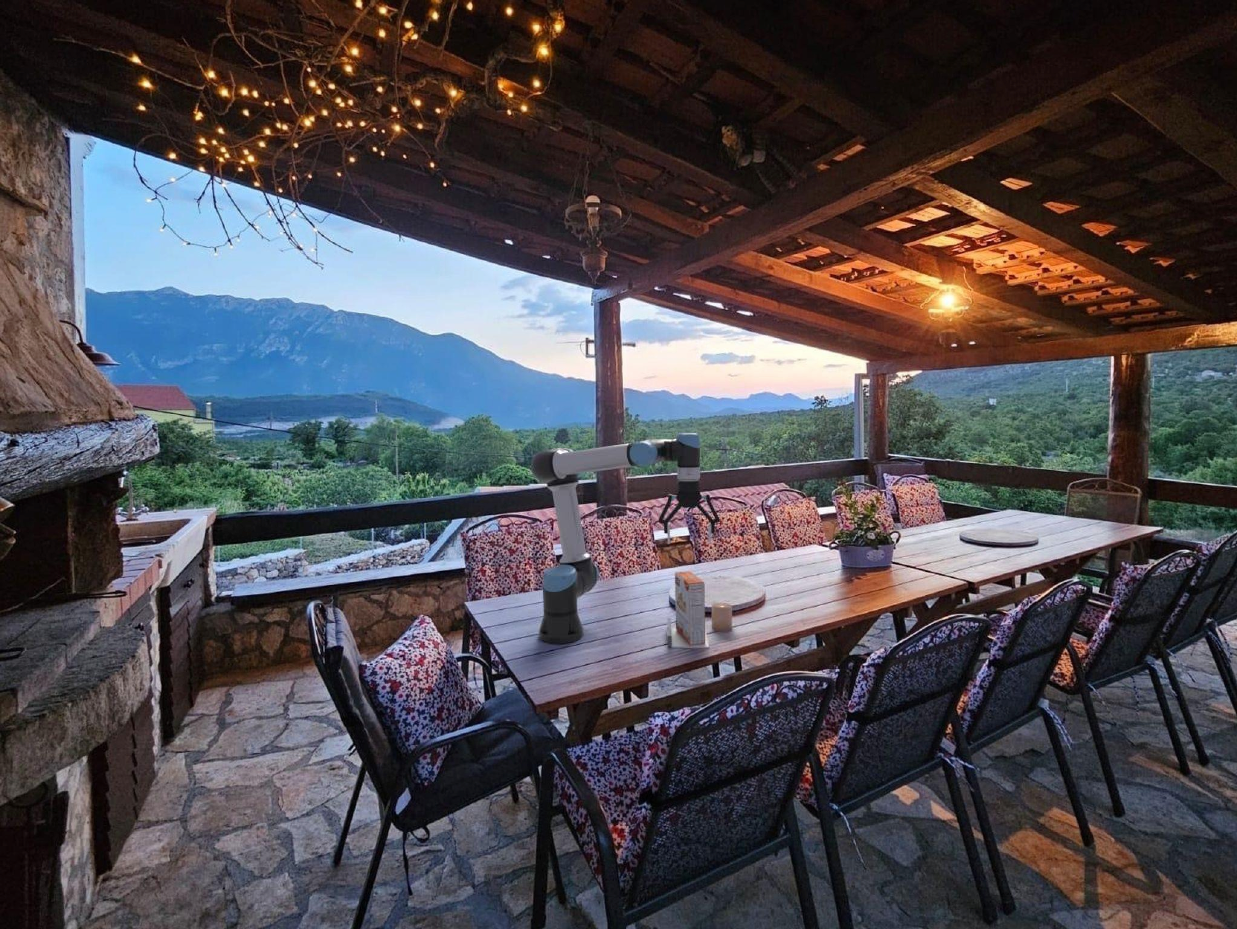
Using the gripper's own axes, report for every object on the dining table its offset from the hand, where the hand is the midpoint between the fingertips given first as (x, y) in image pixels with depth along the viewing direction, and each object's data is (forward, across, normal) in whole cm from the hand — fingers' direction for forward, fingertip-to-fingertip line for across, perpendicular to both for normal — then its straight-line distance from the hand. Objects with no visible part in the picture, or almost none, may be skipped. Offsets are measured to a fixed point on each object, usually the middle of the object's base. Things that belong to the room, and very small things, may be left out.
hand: (689, 543), depth 184 cm
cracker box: (+32, 0, 0) cm, 32 cm away
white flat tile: (+33, 0, 0) cm, 33 cm away
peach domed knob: (+33, +12, +10) cm, 36 cm away
